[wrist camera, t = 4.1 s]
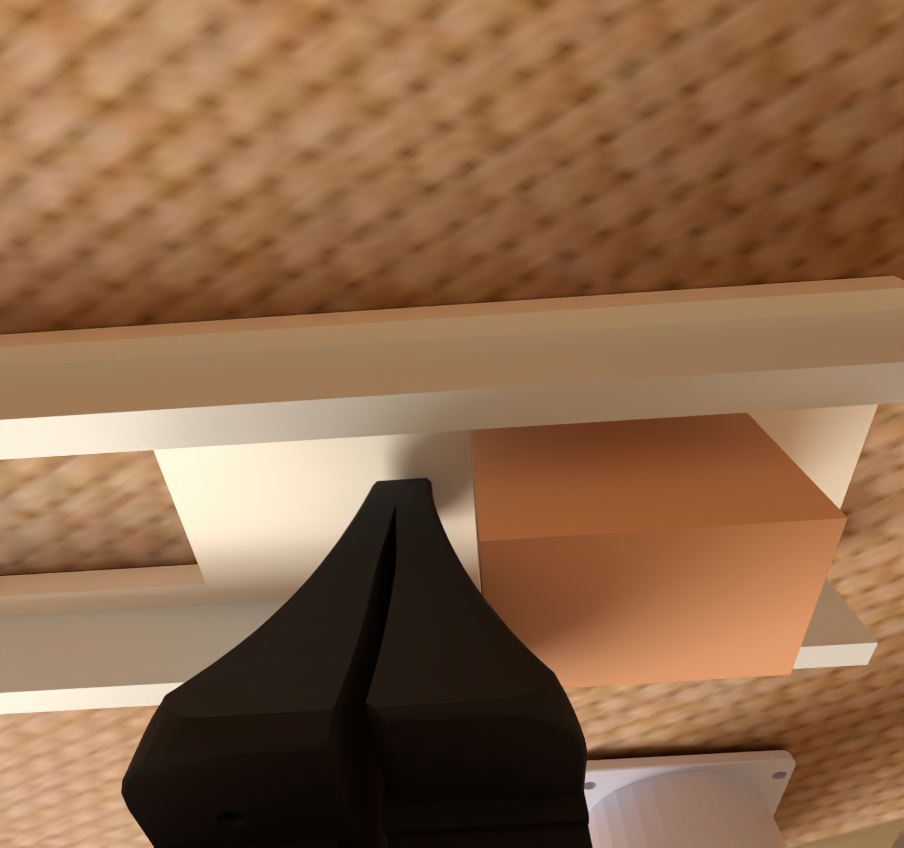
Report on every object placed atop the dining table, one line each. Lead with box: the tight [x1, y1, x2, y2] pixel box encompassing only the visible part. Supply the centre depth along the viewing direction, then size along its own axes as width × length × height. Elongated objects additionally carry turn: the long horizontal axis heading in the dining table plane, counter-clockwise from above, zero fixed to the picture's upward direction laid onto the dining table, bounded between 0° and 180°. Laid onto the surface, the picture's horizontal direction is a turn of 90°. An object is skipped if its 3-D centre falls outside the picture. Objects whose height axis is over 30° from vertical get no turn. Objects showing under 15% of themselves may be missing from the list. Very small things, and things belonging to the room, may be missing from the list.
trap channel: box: [0, 276, 904, 714], centre depth 13 cm, size 9×25×3 cm, turn 94°
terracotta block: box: [470, 413, 848, 688], centre depth 12 cm, size 4×6×4 cm, turn 94°
